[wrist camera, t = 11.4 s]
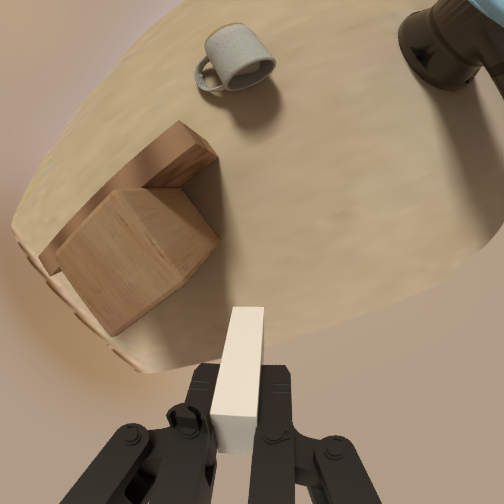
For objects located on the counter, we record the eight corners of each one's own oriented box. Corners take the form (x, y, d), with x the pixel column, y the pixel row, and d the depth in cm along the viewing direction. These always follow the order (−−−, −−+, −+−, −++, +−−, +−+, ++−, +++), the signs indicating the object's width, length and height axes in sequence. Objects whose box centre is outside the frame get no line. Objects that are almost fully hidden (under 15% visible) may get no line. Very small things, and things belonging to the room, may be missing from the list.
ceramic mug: (249, 35, 37) (244, 10, 29) (276, 74, 38) (277, 53, 30) (187, 67, 38) (172, 48, 31) (212, 108, 40) (200, 93, 32)
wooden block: (171, 279, 45) (111, 340, 25) (132, 227, 44) (50, 256, 24) (222, 241, 43) (186, 284, 24) (180, 186, 42) (114, 186, 22)
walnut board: (206, 141, 40) (179, 120, 27) (218, 157, 41) (195, 143, 27) (92, 238, 44) (38, 256, 31) (102, 252, 45) (50, 276, 31)
